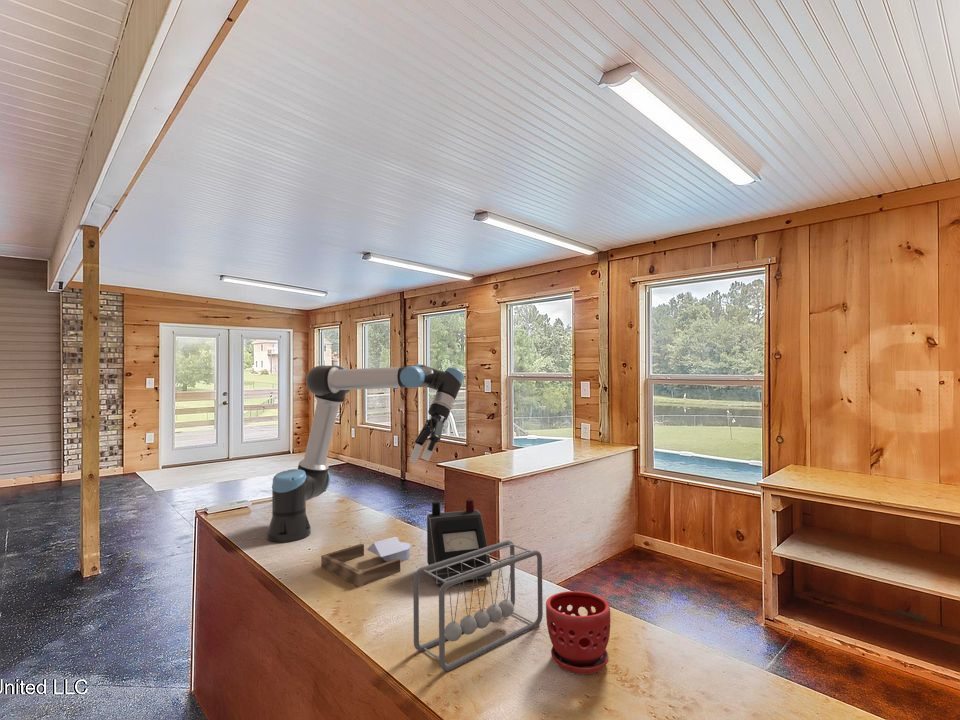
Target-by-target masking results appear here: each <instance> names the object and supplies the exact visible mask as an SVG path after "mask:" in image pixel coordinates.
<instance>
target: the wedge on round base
mask: <svg viewBox="0 0 960 720" xmlns="http://www.w3.org/2000/svg"><path fill="white" fill-rule="evenodd" d="M411 549H412V547H411V543H408V542H404V541H400V539H399V538H398V536H394V537H389V538H385V539H382V540H379V541H374V542H373V543H371V545H370V546H369V547H368V548H366V550H367V551H368V552H370V553H373V554H374V555H377V556H378V557H380V558H382V560H383V561H385V562H388V561H391V560H394V559H397V558H398V559H400V561H402V562H404V560H405V561H408V560H410V559H411V557H412V554H411V553H412V552H411ZM410 556H411V557H410ZM407 559H408V560H407Z"/></svg>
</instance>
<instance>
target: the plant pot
mask: <svg viewBox="0 0 960 720" xmlns="http://www.w3.org/2000/svg"><path fill="white" fill-rule="evenodd" d="M569 606H571V607H572V608H571V609H570V610H569V609H568V607H569ZM592 607H593V608H594V609H595V611H593V609H592ZM579 608H584V609H585V610H586V611H587V614H586V615H580V613H579V610H580V609H579ZM545 615H546V618H545V619H546V625H547V632H548V635H549V639H550V641H551V645H552V647H551V650H550V655H551V658H552V659H553V662H554V663H555V664H556V665H557V666H558V667H559V668H561V669H563V670H564V671H566V672H569V673H573V674H577V675H590V674H594V673H595V672H596V673H597V672H599V671H601V670H602V669H604V668H605V667H606V665H607V664H608V662H609V658H610V657H609V653H608V651H607V646H608V644H609V640H610V634H611V607H610V603H608V601H607V600H606V599H605V598H603V597H601V596H599V595H597V594H594V593H591V592H586V591H577V590H572V591H571V590H570V591H569V590H568V591H562V592H558V593H554V594H552V595H550V597H548V598H547V600H546V602H545ZM596 673H595V674H596Z"/></svg>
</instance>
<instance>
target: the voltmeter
mask: <svg viewBox="0 0 960 720" xmlns="http://www.w3.org/2000/svg"><path fill="white" fill-rule="evenodd" d="M474 500H475V499H474V498H467V499H466V500H465V501H466V503H465V504H466V505H465V510H461V511H460V510H459V511H448V512H446V511H445V512H441V501H432V503H431V513H427V514H426V542H427V543H426V550H427V551H426V556H427V557H426V558H427V559H426V561H427V562H426V563H427V564H428V565H431V564H434V563H437V562H440V561H443V560H446V559H450V558H453V557H456V556H459V555H462V554H465V553H469V552H472V551H475V550H478V549H481V548H484V547H488V546H489V545H488V542H487V538H486V537H487V536H486V531H485V528H484V522H483V517H482V513H481V512H480V511H479V510H478V509H475V501H474ZM488 552H489V551H488ZM485 553H486V552H485ZM482 554H483V553H482ZM479 555H480V554H479ZM489 555H490V553H488V555H487V556H486V554H485V555H482V556H479V557H476V558H475V564H474V558H473V559H470V560H467V561H464V562H462V569H461V563H458V564H455V565H452V566H449V568H448V571H447V567H446V568H443V569H440V570H437V571H433V572H431V573H432V574H434V575H436V576H438V577H440V578H441V579H446V578H448V574H449V577H452V576H455V575H458V574H460V573H462V571H463V573H464V572H466V571H469V570H472V569H474V568H475V567H476V568H478V567H481V566H484V565H487V564H486V563H487V559H488V564H489V563H492V562H491V561H492V560H491V556H489ZM477 559H478V560H477ZM479 560H480V561H479ZM460 561H461V560H460ZM481 561H482V562H481ZM457 562H458V561H457ZM483 562H485V563H483ZM454 563H455V562H454ZM463 563H464V564H463ZM451 564H452V563H451ZM465 564H466V565H465ZM448 565H449V564H448ZM467 565H468V566H467ZM445 566H446V565H445ZM469 566H470V567H469ZM489 566H491V565H489ZM442 567H443V566H442ZM471 567H473V568H471ZM487 567H488V566H487ZM439 568H440V567H439ZM450 568H451V569H450ZM484 568H486V567H484ZM452 569H453V570H452ZM481 569H483V568H481ZM454 570H455V571H454ZM478 570H480V569H478ZM456 571H457V572H456ZM476 571H477V570H476ZM458 572H459V573H458ZM472 572H474V571H472ZM469 573H471V572H469ZM467 574H468V573H467ZM464 575H466V574H464ZM486 575H487V578H489V575H490V578H492V577H493V571H491V572H488V573H485V574H483V575H480V576H477V579H479V581H480V580H482V581H481V582H484V581H483V580H485V581H486ZM461 576H462V575H461ZM458 577H460V576H458ZM433 578H434V581H435V583H436V584H439V586H442V585H443V584H444V583H445V582H443V581H441V580H439V579H437V578H435V577H433ZM455 578H457V577H455ZM452 579H454V578H452ZM473 579H474V580H476V577H474V578H472V579H471V580H473ZM450 580H451V579H450ZM447 581H448V580H447Z"/></svg>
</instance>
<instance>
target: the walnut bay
mask: <svg viewBox="0 0 960 720" xmlns="http://www.w3.org/2000/svg"><path fill="white" fill-rule="evenodd" d="M363 556H365V545H364V544H363V543H359V544H356V545H352V546H348V547H345V548H342V549H340V550H336V551H333V552H329V553H326V554H323V555H321V556H320V559H321V560H320V565H321V566H320V567H321V568H322V569H324V570H326V571H328V572H330V573H331V574H334V575H336V576H338V577H340V578H341V579H343V580H346V581H347V582H349V583H350V584H352V585H355V586H357V587H362V586H365V585H368V584H369V583H373V582H375V581H378V580H381V579H384V578H386V577H389V576H391V575H394V574H397V573H399V572H401V562H400V559H398V558H397V559H394V560H391V561H385V562H383V563H380V564H378V565H375V566H372V567H369V568H366V569H365V568H364V569H363V570H360V569H357V568H355V567H353V566H351V565H348V564H347V563H344V562H348V561H351V560H354V559H357V558H360V557H363Z"/></svg>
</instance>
